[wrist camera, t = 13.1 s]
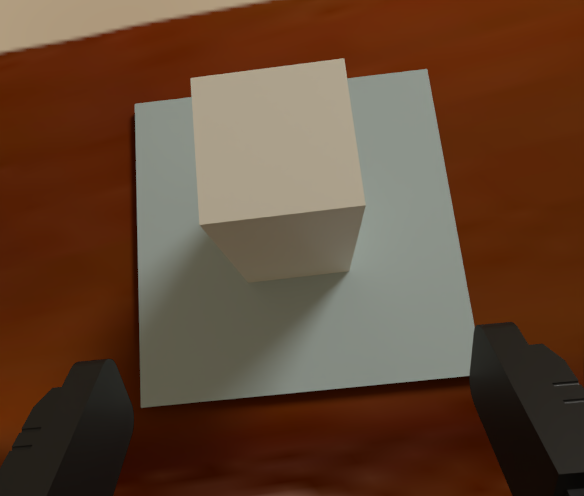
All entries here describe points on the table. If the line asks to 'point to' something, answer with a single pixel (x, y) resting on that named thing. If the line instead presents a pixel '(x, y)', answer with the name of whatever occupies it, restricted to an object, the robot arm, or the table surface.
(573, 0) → the table surface
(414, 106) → the tile
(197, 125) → the beige block
